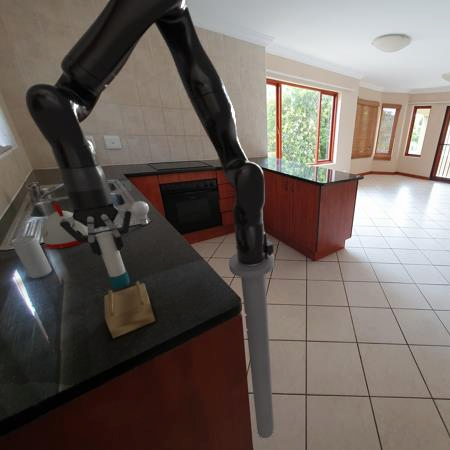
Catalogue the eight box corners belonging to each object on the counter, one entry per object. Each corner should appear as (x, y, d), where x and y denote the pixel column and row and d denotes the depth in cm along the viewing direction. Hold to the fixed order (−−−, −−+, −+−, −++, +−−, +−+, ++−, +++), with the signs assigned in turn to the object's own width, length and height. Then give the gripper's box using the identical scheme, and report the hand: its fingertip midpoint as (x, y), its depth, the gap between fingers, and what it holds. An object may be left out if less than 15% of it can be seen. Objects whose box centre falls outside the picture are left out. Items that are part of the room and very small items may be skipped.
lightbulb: (141, 228, 103) (134, 204, 98) (133, 225, 105) (126, 202, 101) (155, 223, 108) (150, 200, 103) (147, 221, 110) (141, 198, 106)
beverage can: (53, 268, 74) (37, 233, 70) (51, 275, 71) (33, 239, 66) (32, 273, 72) (13, 238, 67) (28, 281, 68) (8, 244, 64)
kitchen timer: (49, 252, 83) (31, 212, 77) (42, 241, 91) (24, 204, 85) (98, 238, 94) (85, 202, 88) (87, 229, 101) (75, 195, 95)
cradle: (149, 300, 62) (143, 279, 59) (155, 321, 55) (148, 299, 53) (111, 313, 57) (102, 292, 55) (113, 338, 51) (103, 315, 48)
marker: (94, 233, 60) (93, 238, 57) (113, 229, 62) (114, 234, 59) (112, 283, 65) (112, 290, 62) (129, 278, 67) (130, 284, 64)
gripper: (40, 194, 47) (72, 267, 54) (125, 184, 55) (143, 249, 62) (46, 187, 53) (74, 253, 60) (123, 179, 61) (140, 238, 68)
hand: (109, 251), depth 61 cm, fingers closed on marker, 3 cm apart
